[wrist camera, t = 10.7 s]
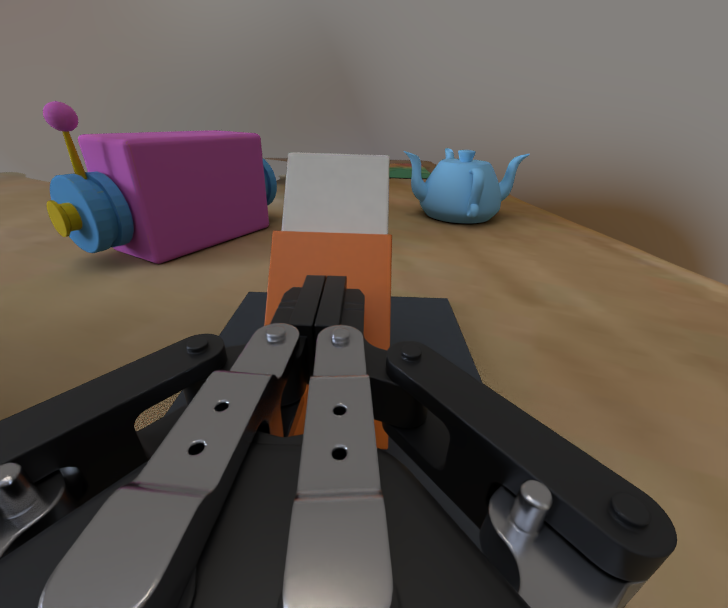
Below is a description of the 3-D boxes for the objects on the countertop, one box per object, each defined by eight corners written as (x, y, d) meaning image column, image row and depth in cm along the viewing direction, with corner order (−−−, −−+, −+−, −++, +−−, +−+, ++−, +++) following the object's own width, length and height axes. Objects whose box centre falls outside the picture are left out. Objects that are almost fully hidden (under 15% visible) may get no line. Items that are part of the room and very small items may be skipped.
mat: (637, 774, 9) (643, 771, 9) (-53, 751, 9) (-62, 747, 9) (446, 302, 32) (447, 298, 32) (249, 295, 32) (248, 291, 32)
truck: (393, 449, 13) (398, 141, 16) (247, 445, 13) (276, 136, 16) (382, 425, 20) (387, 210, 22) (285, 422, 20) (301, 208, 22)
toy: (250, 211, 58) (238, 107, 51) (293, 219, 55) (286, 109, 48) (57, 264, 37) (-11, 98, 30) (106, 283, 33) (42, 100, 26)
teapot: (475, 234, 51) (489, 158, 46) (393, 214, 59) (398, 147, 54) (515, 217, 60) (531, 152, 55) (439, 201, 69) (447, 144, 64)
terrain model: (352, 164, 114) (352, 161, 114) (421, 166, 115) (421, 163, 114) (351, 176, 92) (351, 173, 92) (436, 178, 93) (437, 176, 92)
